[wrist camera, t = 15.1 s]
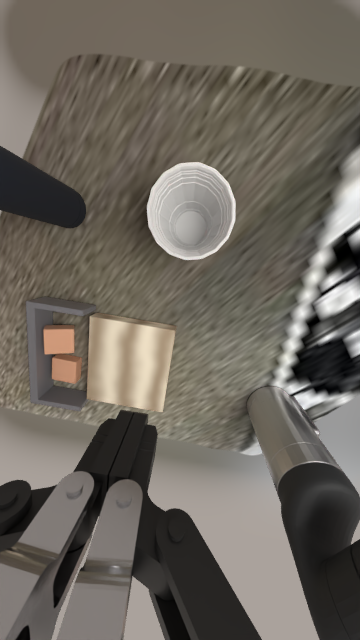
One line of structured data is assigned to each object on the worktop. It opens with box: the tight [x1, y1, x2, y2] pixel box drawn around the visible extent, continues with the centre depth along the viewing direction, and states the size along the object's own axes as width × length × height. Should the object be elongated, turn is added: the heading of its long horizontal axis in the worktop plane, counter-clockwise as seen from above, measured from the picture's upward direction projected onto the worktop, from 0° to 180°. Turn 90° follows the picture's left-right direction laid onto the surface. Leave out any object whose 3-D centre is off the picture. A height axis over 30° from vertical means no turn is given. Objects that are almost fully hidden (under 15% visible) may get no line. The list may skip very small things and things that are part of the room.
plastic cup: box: [147, 162, 235, 260], centre depth 31 cm, size 11×11×12 cm
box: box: [26, 297, 96, 411], centre depth 42 cm, size 10×21×5 cm, turn 171°
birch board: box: [87, 313, 177, 412], centre depth 43 cm, size 16×18×3 cm
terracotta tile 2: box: [52, 354, 82, 384], centre depth 45 cm, size 5×5×2 cm
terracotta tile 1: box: [43, 325, 75, 354], centre depth 41 cm, size 5×5×2 cm
